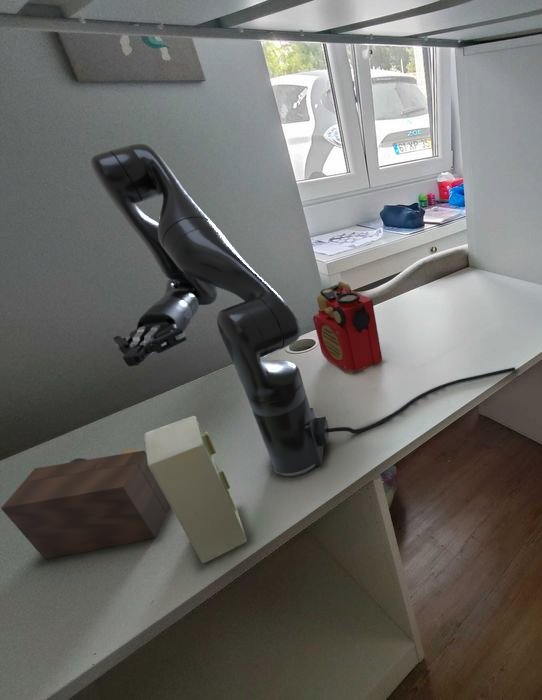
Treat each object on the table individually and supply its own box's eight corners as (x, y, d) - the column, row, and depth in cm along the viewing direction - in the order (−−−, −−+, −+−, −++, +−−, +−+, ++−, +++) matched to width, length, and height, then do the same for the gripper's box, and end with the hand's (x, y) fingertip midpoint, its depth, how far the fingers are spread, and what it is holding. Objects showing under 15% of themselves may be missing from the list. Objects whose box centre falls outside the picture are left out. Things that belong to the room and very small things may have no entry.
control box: (178, 488, 81) (151, 439, 75) (155, 538, 72) (122, 486, 66) (81, 505, 79) (45, 456, 72) (44, 559, 69) (0, 508, 63)
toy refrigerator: (253, 539, 71) (208, 441, 60) (203, 565, 67) (145, 465, 57) (242, 507, 76) (199, 412, 66) (195, 530, 73) (141, 432, 62)
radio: (321, 356, 119) (303, 287, 109) (353, 342, 125) (339, 275, 115) (352, 378, 109) (336, 305, 99) (386, 362, 115) (374, 291, 105)
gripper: (124, 308, 91) (79, 349, 76) (193, 299, 93) (162, 337, 78) (140, 340, 95) (99, 384, 80) (206, 331, 97) (178, 373, 82)
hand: (130, 361), depth 79 cm, fingers closed
